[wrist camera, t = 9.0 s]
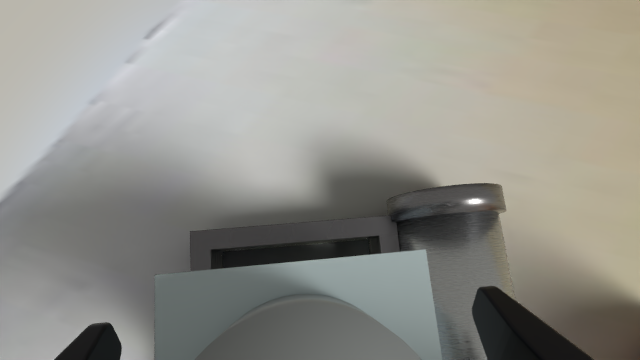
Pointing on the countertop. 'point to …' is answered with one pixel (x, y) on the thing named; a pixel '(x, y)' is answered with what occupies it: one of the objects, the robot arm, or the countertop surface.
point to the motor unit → (406, 249)
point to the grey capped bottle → (300, 311)
